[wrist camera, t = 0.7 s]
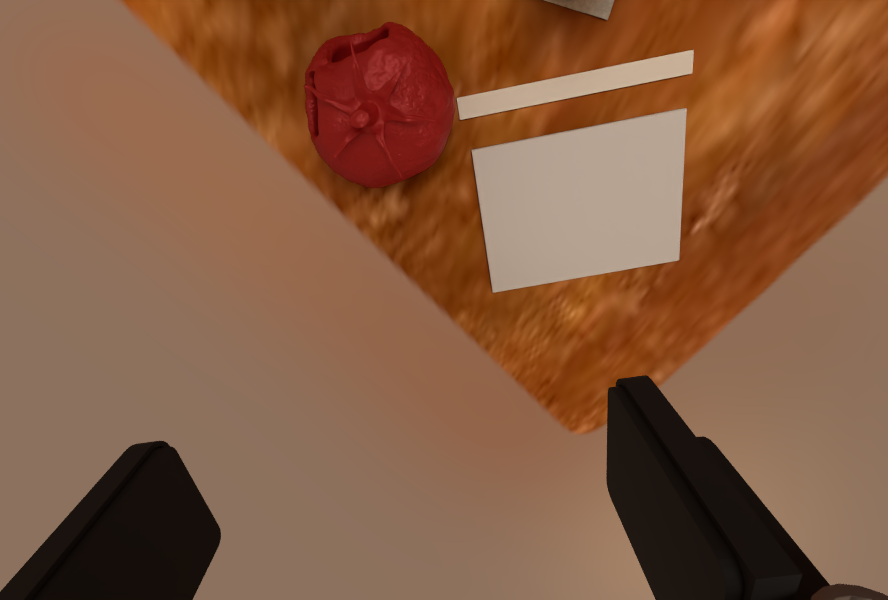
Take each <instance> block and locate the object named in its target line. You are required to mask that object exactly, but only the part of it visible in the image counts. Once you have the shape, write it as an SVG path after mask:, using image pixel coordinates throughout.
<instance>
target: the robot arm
mask: <svg viewBox="0 0 888 600" xmlns="http://www.w3.org/2000/svg"><path fill="white" fill-rule="evenodd" d="M607 487H608V491H609V494H610V497H611V500H612V502H613V504H614V506H615V509H616V511H617V513H618V516H619V518H620V520H621V522H622V525H623V527H624V529H625V531H626V533H627V536H628V538H629V540H630V543H631V545H632V547H633V549H634V552H635V554H636V556H637V558H638V561H639V563H640V565H641V568H642V570H643V572H644V574H645V577H646V579H647V581H648V583H649V585H650V588H651V590H652V592H653V595H654V597H655V599H656V600H888V596H887V595H885V594H883V593H880V592H877V591H874V590H871V589H868V588H864V587H861V586H857V585H847V584H835V585H829V583H828V582H827V581H826V580H825V578H824V577H823V576H822V575H821V574H820V572H819V571H818V570H817V569H816V567H815V566H814V565H813V564H812V563H811V561H810V560H809V559H808V558H807V557H806V555H805V554H804V553H803V552H802V550H801V549H800V548H799V547H798V545H797V544H796V543H795V542H794V541H793V539H792V538H791V537H790V536H789V534H788V533H787V532H786V531H785V530H784V528H783V527H782V526H781V525H780V523H779V522H778V521H777V520H776V519H775V517H774V516H773V515H772V514H771V512H770V511H769V510H768V509H767V507H765V505H764V504H763V503H762V501H761V500H760V499H759V498H758V496H757V495H756V494H755V493H754V491H753V490H752V489H751V488H750V487H749V485H748V484H747V483H746V482H745V481H744V479H743V478H742V477H741V476H740V474H739V473H738V472H737V471H736V469H735V468H734V467H733V466H732V465H731V463H730V462H729V461H728V460H727V459H726V457H725V456H724V455H723V454H722V452H721V451H720V450H719V449H718V447H717V446H716V445H715V444H714V443H713V442H712V441H711V440H709V439H708V438H706V437H696V436H695V435H694V434H693V432H692V431H691V430H690V429H689V427H688V426H687V425H686V424H685V422H684V421H683V420H682V418H681V417H680V416H679V415H678V413H677V412H676V411H675V409H674V408H673V407H672V406H671V404H670V403H669V402H668V401H667V399H666V398H665V396H664V395H663V394H662V393H661V391H660V390H659V389H658V387H657V386H656V385H655V384H654V382H653V381H652V380H651V379H650V378H649V377H648V376H646V375H645V376H637V377H630V378H623V379H618V380H617V382H616V387H610V388H609V389H608V417H607ZM220 539H221V532H220V528H219V526H218V524H217V522H216V521H215V518H214V517H213V515H212V513H211V511H210V510H209V508H208V506H207V504H206V503H205V501H204V499H203V497H202V495H201V494H200V492H199V490H198V488H197V486H196V485H195V483H194V481H193V479H192V478H191V476H190V474H189V472H188V470H187V469H186V467H185V465H184V463H183V462H182V460H181V458H180V456H179V454H178V453H177V451H176V450H175V448H173V447H170V446H169V445H168V443H166V442H164V441H155V442H147V443H141V444H135V445H132V446H130V447H129V448H128V449H127V450H126V451H125V452H124V453H123V454H122V455H121V456H120V457H119V459H118V460H117V461H116V462H115V463H114V464H113V466H111V468H110V469H109V470H108V471H107V472H106V473H105V474H104V475H103V477H102V478H101V479H100V480H99V481H98V482H97V484H95V486H94V487H93V488H92V489H91V490H90V491H89V492H88V494H87V495H86V496H85V497H84V498H83V499H82V500H81V502H80V503H79V504H78V505H77V506H76V507H75V508H74V509H73V511H72V512H71V513H70V514H69V515H68V516H67V517H66V518H65V520H64V521H63V522H62V523H61V524H60V525H59V526H58V528H57V529H56V530H55V531H54V532H53V533H52V534H51V535H50V537H48V539H47V540H46V541H45V542H44V543H43V544H42V545H41V546H40V548H39V549H38V550H37V551H36V552H35V553H34V554H33V556H32V557H31V558H30V559H29V560H28V561H27V562H26V563H25V565H24V566H23V567H22V568H21V569H20V570H19V571H18V573H17V574H16V575H15V576H14V577H13V578H12V579H11V580H10V581H9V583H8V584H7V585H6V586H5V587H4V588H3V589H2V590H1V592H0V600H193V597H194V595H195V593H196V591H197V589H198V587H199V585H200V583H201V581H202V579H203V576H204V575H205V573H206V571H207V568H208V567H209V565H210V563H211V561H212V559H213V557H214V554H215V552H216V550H217V548H218V546H219V543H220Z"/></svg>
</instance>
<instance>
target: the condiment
mask: <svg viewBox="0 0 888 600" xmlns="http://www.w3.org/2000/svg"><path fill="white" fill-rule="evenodd" d="M544 1H547V2H550V3H553V4H557V5H560V6H563V7H566V8H570V9H573V10H576V11H580V12H583V13H587V14H590V15H593V16H596V17H600V18H603V19H606V20H608V17H609V15H610V12H611V9H612V6H613V3H614V0H544Z"/></svg>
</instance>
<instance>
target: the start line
mask: <svg viewBox="0 0 888 600" xmlns="http://www.w3.org/2000/svg"><path fill="white" fill-rule="evenodd" d="M693 51H694V50H690V51H685V52H680V53H675V54H670V55H665V56H660V57H656V58H651V59H646V60H641V61H636V62H631V63H626V64H621V65H616V66H611V67H607V68H602V69H597V70H592V71H587V72H582V73H577V74H572V75H567V76H563V77H558V78H553V79H548V80H543V81H538V82H533V83H528V84H523V85H519V86H514V87H509V88H504V89H499V90H494V91H489V92H484V93H479V94H474V95H470V96H465V97H460V98H457V104H458V110H459V117H460V120H463V119H468V118H473V117H478V116H483V115H488V114H493V113H498V112H502V111H507V110H512V109H517V108H522V107H527V106H532V105H537V104H542V103H547V102H552V101H557V100H562V99H567V98H572V97H577V96H582V95H587V94H592V93H597V92H602V91H607V90H612V89H617V88H622V87H627V86H632V85H637V84H642V83H647V82H652V81H657V80H662V79H667V78H672V77H677V76H682V75H687V74H692V70H693Z"/></svg>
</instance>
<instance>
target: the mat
mask: <svg viewBox="0 0 888 600" xmlns="http://www.w3.org/2000/svg"><path fill="white" fill-rule="evenodd" d="M686 109H687V108H682V109H676V110H671V111H666V112H661V113H656V114H651V115H646V116H641V117H636V118H631V119H625V120H620V121H615V122H610V123H605V124H600V125H595V126H590V127H585V128H580V129H575V130H569V131H564V132H559V133H554V134H549V135H544V136H539V137H534V138H529V139H524V140H518V141H513V142H508V143H503V144H498V145H493V146H488V147H483V148H478V149H473V150H471V151H472V158H473V165H474V171H475V178H476V185H477V192H478V198H479V205H480V212H481V218H482V225H483V232H484V238H485V245H486V252H487V258H488V265H489V272H490V278H491V285H492V291H493V293H494V292H500V291H506V290H512V289H517V288H523V287H529V286H535V285H540V284H546V283H552V282H557V281H563V280H569V279H575V278H580V277H586V276H592V275H598V274H603V273H609V272H615V271H621V270H626V269H632V268H638V267H643V266H649V265H655V264H661V263H666V262H672V261H678V260H679V249H680V229H681V209H682V189H683V169H684V149H685V129H686Z"/></svg>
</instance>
